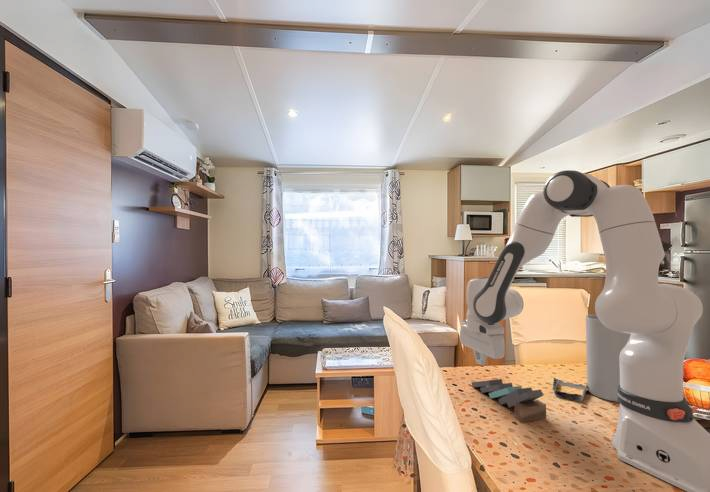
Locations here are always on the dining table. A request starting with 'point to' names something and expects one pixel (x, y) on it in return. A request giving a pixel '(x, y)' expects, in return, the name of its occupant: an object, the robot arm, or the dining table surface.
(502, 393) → the teal domino
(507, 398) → the domino
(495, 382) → the domino
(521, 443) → the dining table surface
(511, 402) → the domino
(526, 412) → the end block
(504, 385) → the domino
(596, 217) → the robot arm
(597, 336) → the cylinder vase
